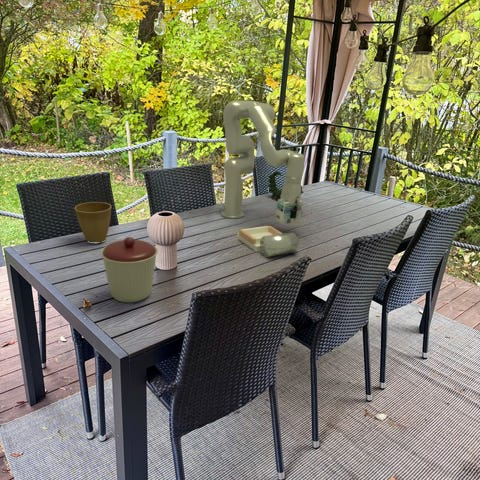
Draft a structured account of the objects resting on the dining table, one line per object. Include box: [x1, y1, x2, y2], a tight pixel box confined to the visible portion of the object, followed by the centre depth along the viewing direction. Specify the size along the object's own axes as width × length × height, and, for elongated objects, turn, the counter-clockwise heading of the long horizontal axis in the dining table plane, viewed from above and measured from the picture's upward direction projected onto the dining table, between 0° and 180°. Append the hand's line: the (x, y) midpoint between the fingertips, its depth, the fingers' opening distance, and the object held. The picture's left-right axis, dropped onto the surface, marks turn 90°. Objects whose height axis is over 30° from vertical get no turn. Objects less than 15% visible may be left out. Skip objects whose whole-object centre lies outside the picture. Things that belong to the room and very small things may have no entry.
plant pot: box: [74, 201, 112, 242], centre depth 183 cm, size 15×15×16 cm
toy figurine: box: [267, 170, 305, 202], centre depth 260 cm, size 9×19×25 cm
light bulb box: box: [275, 199, 304, 225], centre depth 204 cm, size 11×7×11 cm, turn 118°
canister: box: [100, 236, 159, 303], centre depth 140 cm, size 18×18×21 cm
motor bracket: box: [236, 225, 299, 258], centre depth 191 cm, size 28×18×9 cm, turn 29°
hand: (288, 215), depth 205 cm, fingers closed on light bulb box, 6 cm apart
